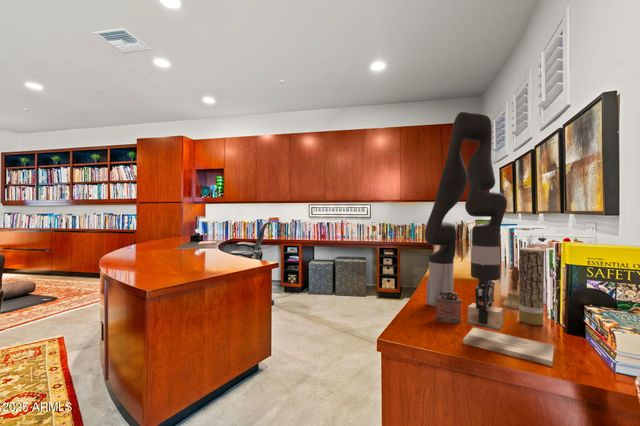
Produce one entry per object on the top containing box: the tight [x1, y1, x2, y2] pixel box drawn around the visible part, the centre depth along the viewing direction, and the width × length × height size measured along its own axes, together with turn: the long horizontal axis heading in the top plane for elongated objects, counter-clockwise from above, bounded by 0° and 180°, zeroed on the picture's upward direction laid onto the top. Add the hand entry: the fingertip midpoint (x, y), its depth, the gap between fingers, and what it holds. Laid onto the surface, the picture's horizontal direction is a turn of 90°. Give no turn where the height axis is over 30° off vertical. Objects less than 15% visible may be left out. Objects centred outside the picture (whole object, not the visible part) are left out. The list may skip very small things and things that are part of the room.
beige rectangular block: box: [467, 302, 504, 332], centre depth 89 cm, size 8×5×5 cm, turn 49°
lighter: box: [435, 291, 462, 324], centre depth 106 cm, size 8×3×10 cm, turn 71°
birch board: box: [462, 326, 555, 367], centre depth 85 cm, size 20×12×1 cm, turn 51°
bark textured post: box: [518, 247, 545, 326], centre depth 105 cm, size 7×7×25 cm
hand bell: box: [502, 266, 520, 310], centre depth 124 cm, size 8×8×16 cm
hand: (485, 320), depth 89 cm, fingers closed on beige rectangular block, 5 cm apart
